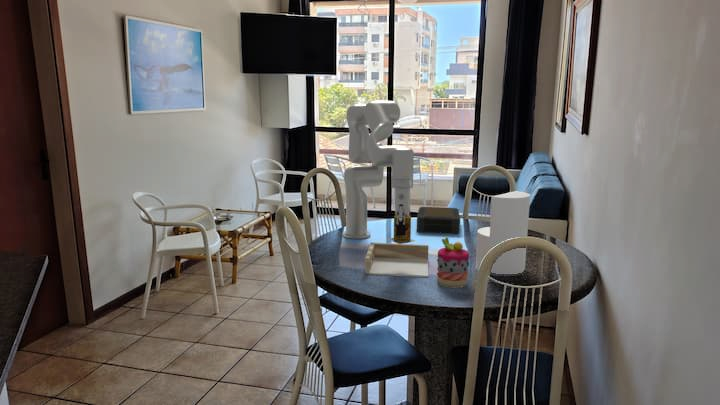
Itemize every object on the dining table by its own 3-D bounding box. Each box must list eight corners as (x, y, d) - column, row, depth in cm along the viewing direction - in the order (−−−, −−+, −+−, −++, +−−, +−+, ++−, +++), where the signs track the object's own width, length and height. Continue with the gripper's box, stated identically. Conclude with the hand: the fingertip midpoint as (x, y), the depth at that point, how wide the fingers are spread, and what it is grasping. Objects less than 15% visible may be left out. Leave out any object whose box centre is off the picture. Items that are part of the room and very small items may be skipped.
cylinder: (533, 269, 187) (539, 193, 182) (509, 280, 175) (515, 200, 170) (491, 259, 199) (495, 187, 194) (466, 269, 187) (470, 193, 182)
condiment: (400, 244, 180) (400, 210, 178) (385, 239, 187) (386, 206, 185) (416, 241, 184) (417, 208, 182) (401, 236, 191) (402, 204, 189)
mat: (370, 257, 200) (371, 256, 200) (427, 260, 197) (427, 258, 197) (364, 274, 180) (364, 272, 180) (428, 277, 178) (428, 275, 178)
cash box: (460, 235, 236) (461, 218, 235) (416, 232, 239) (416, 216, 238) (459, 222, 260) (459, 207, 259) (418, 221, 263) (419, 206, 262)
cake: (468, 278, 177) (470, 236, 174) (467, 289, 167) (469, 244, 164) (437, 276, 179) (439, 234, 176) (435, 286, 169) (436, 242, 166)
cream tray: (370, 257, 200) (371, 242, 199) (427, 260, 197) (428, 245, 196) (364, 274, 180) (365, 257, 179) (428, 277, 178) (428, 260, 177)
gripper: (412, 187, 172) (411, 239, 175) (413, 179, 189) (412, 227, 192) (389, 186, 173) (389, 238, 176) (393, 179, 190) (392, 226, 193)
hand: (401, 232), depth 184 cm, fingers closed on condiment, 6 cm apart
